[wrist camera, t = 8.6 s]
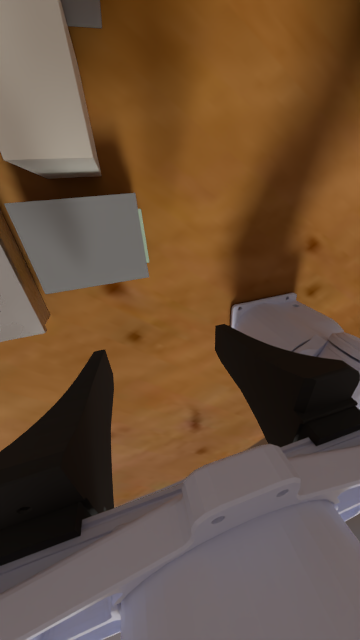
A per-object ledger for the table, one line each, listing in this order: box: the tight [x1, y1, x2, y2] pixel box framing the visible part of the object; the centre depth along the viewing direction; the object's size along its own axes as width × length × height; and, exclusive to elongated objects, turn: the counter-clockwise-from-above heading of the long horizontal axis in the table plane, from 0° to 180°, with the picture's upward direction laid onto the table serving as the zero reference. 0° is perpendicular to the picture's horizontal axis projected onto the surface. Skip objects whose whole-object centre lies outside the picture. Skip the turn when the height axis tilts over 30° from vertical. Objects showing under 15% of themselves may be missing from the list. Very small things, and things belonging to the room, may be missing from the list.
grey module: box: [0, 0, 102, 179], centre depth 11 cm, size 4×6×7 cm
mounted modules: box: [4, 0, 149, 294], centre depth 12 cm, size 8×21×4 cm, turn 5°
